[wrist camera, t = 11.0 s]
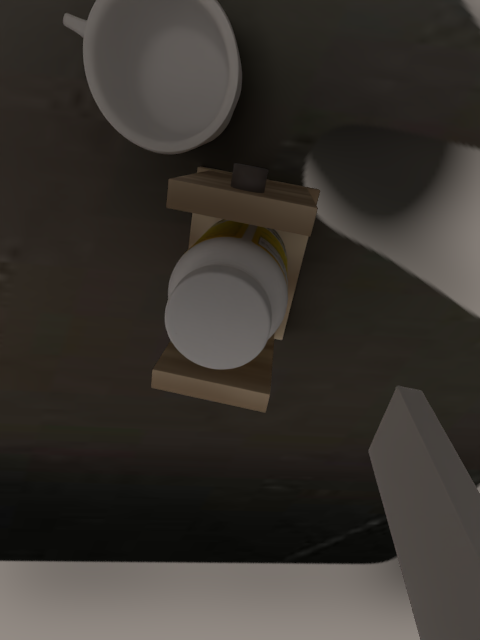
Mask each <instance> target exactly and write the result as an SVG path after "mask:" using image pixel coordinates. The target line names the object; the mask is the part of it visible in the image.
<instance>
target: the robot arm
mask: <svg viewBox="0 0 480 640" xmlns="http://www.w3.org/2000/svg"><path fill="white" fill-rule="evenodd" d="M368 451H369V455H370V459H371V462H372V466H373V470H374V473H375V477H376V480H377V484H378V488H379V491H380V495H381V498H382V502H383V506H384V509H385V513H386V517H387V520H388V524H389V527H390V531H391V535H392V538H393V542H394V546H395V549H396V553H397V556H398V560H399V564H400V567H401V571H402V575H403V578H404V582H405V585H406V589H407V593H408V596H409V600H410V604H411V607H412V611H413V614H414V618H415V622H416V625H417V629H418V632H419V636H420V640H480V493H479V492H478V490H477V488H476V486H475V484H474V483H473V481H472V479H471V477H470V476H469V474H468V472H467V470H466V468H465V467H464V465H463V463H462V461H461V460H460V458H459V456H458V454H457V452H456V451H455V449H454V447H453V445H452V444H451V442H450V440H449V438H448V437H447V435H446V433H445V431H444V429H443V428H442V426H441V424H440V422H439V421H438V419H437V417H436V415H435V413H434V412H433V410H432V408H431V406H430V405H429V403H428V401H427V399H426V397H425V396H424V394H423V392H422V391H421V390H416V389H411V388H406V387H401V386H397V387H396V389H395V392H394V394H393V396H392V398H391V401H390V403H389V405H388V407H387V410H386V412H385V414H384V416H383V419H382V421H381V423H380V425H379V428H378V430H377V432H376V434H375V437H374V439H373V441H372V443H371V446H370V448H369V450H368Z"/></svg>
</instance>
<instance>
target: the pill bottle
mask: <svg viewBox="0 0 480 640" xmlns="http://www.w3.org/2000/svg"><path fill="white" fill-rule="evenodd" d="M287 303H288V280H287V253H286V249H285V245H284V243H283V240H282V238H281V237H280V235H279V234H278V232H277V231H276V230H275V229H270V228H265V227H260V226H255V225H250V224H245V223H240V222H235V221H230V220H225V219H222V220H220V221H218V222H217V223H215V224H214V225H213V226H212V227H211V228H210V229H208V230H207V232H205V234H203V235H202V237H201V238H199V239H198V241H197V242H196V243H195V244H194V245H193V246H192V247H191V248H189V249H188V250H187V251H186V252H185V253H184V254H183V256H182V257H181V258H180V259H179V261H178V262H177V264H176V266H175V268H174V270H173V272H172V274H171V277H170V281H169V286H168V302H167V304H166V308H165V326H166V330H167V333H168V336H169V338H170V340H171V341H172V343H173V344H174V346H175V347H176V349H177V350H178V351H179V352H180V353H181V354H182V355H184V356H185V357H186V358H187V359H189V360H190V361H192V362H194V363H196V364H198V365H200V366H203V367H207V368H211V369H220V370H221V369H232V368H237V367H240V366H243V365H244V364H247V363H248V362H250V361H251V360H253V359H254V358H255V357H256V356H257V355H258V354H259V353H260V352H261V351H262V350H263V348H264V347H265V345H266V343H267V341H268V339H269V338H270V337H271V336H272V335H273V334H274V333H275V332H276V330H277V329H278V328H279V326H280V324H281V323H282V321H283V319H284V316H285V313H286V309H287Z"/></svg>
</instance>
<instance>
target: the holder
mask: <svg viewBox="0 0 480 640" xmlns="http://www.w3.org/2000/svg"><path fill="white" fill-rule="evenodd" d="M267 175H268V169H264V168H260V167H255V166H250V165H245V164H238V163H234V167H233V173H232V172H227V171H222V170H217V169H211V168H206V167H198V170H197V173H194V174H189V175H184V176H180V177H175V178H170V179H169V181H168V193H167V205H166V208H170V209H175V210H180V211H185V212H190V213H192V222H191V231H190V239H189V248H191V247H192V246H193V245H194V244H195V243H196V242H197V241H198V239H199V238H201V237H202V235H203V234H205V232H207V230H208V229H210V228H211V227H212V226H213V225H214V224H215V223H217V222H218V221H220V220H222V219H225V220H230V221H235V222H240V223H245V224H250V225H255V226H260V227H265V228H270V229H275V230H276V231H277V232H278V234H279V235H280V237H281V238H282V240H283V243H284V245H285V249H286V253H287V280H288V303H287V309H286V313H285V316H284V319H283V321H282V323H281V324H280V326H279V328H278V329H277V330H276V332H275V333H274V334H273V335H272V336H271V337H270V338H269V339H268V341H267V343H266V345H265V347H264V348H263V350H262V351H261V352H260V353H259V354H258V355H257V356H256V357H255V358H254V359H253V360H251V361H250V362H248V363H247V364H244V365H243V366H240V367H237V368H232V369H221V370H220V369H211V368H207V367H203V366H200V365H198V364H196V363H194V362H192V361H190V360H189V359H187V358H186V357H185V356H184V355H182V354H181V353H180V352H179V351H178V350H177V349H176V347H175V346H174V344H173V343H172V341H170V343H169V344H168V346H167V347H166V349H165V351H164V352H163V354H162V355H161V357H160V358H159V360H158V362H157V363H156V365H155V366H154V368H153V371H152V383H151V388H155V389H160V390H164V391H169V392H174V393H178V394H183V395H187V396H192V397H196V398H201V399H205V400H207V401H212V402H219V403H224V404H228V405H233V406H238V407H242V408H247V409H251V410H256V411H261V412H266V408H267V404H268V400H269V396H270V386H271V373H272V360H273V347H274V339H279V340H282V339H283V335H284V331H285V327H286V323H287V319H288V315H289V311H290V307H291V303H292V299H293V295H294V291H295V287H296V284H297V280H298V276H299V272H300V268H301V264H302V260H303V256H304V252H305V248H306V244H307V240H308V236H311V233H312V229H313V225H314V221H315V217H316V213H317V209H318V208H317V206H316V205H317V201H318V197H319V193H320V190H318V189H314V188H309V187H303V186H298V185H293V184H288V183H283V182H278V181H273V180H268V179H267ZM189 248H188V249H189Z"/></svg>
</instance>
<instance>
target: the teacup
mask: <svg viewBox="0 0 480 640" xmlns="http://www.w3.org/2000/svg"><path fill="white" fill-rule="evenodd" d="M63 24H64V25H65V26H66V27H67V28H69V29H71V30H73V31H75V32H76V33H78V34H79V35H80V36H82V37H83V38H84V39H83V61H84V68H85V74H86V78H87V82H88V85H89V88H90V90H91V93H92V95H93V98H94V100H95V102H96V104H97V105H98V107H99V109H100V110H101V112H102V114H103V115H104V116H105V118H106V119H107V120H108V122H109V123H110V124H111V125H112V126H113V127H114V128H115V129H116V130H117V131H118V132H119V133H120V134H121V135H123V136H124V137H125V138H126V139H128V140H129V141H131V142H132V143H134V144H136V145H138V146H139V147H142V148H144V149H146V150H149V151H152V152H155V153H160V154H180V153H184V152H187V151H190V150H192V149H195V148H197V147H199V146H201V145H203V144H206V143H209V142H211V141H213V140H214V139H216V138H217V137H218V136H219V135H220V134H221V133H222V132H223V131H224V130H225V128H226V127H227V125H228V124H229V122H230V120H231V117H232V115H233V112H234V109H235V107H236V105H237V102H238V100H239V97H240V93H241V87H242V67H241V61H240V56H239V51H238V46H237V42H236V38H235V35H234V32H233V29H232V26H231V24H230V21H229V19H228V17H227V15H226V13H225V11H224V10H223V8H222V7H221V5H220V4H219V2H218V1H217V0H96V1H95V3H94V5H93V7H92V9H91V11H90V14H89V17H88V20H83V19H81V18H78V17H76V16H73V15H71V14H68V13H65V14H64V18H63Z"/></svg>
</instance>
